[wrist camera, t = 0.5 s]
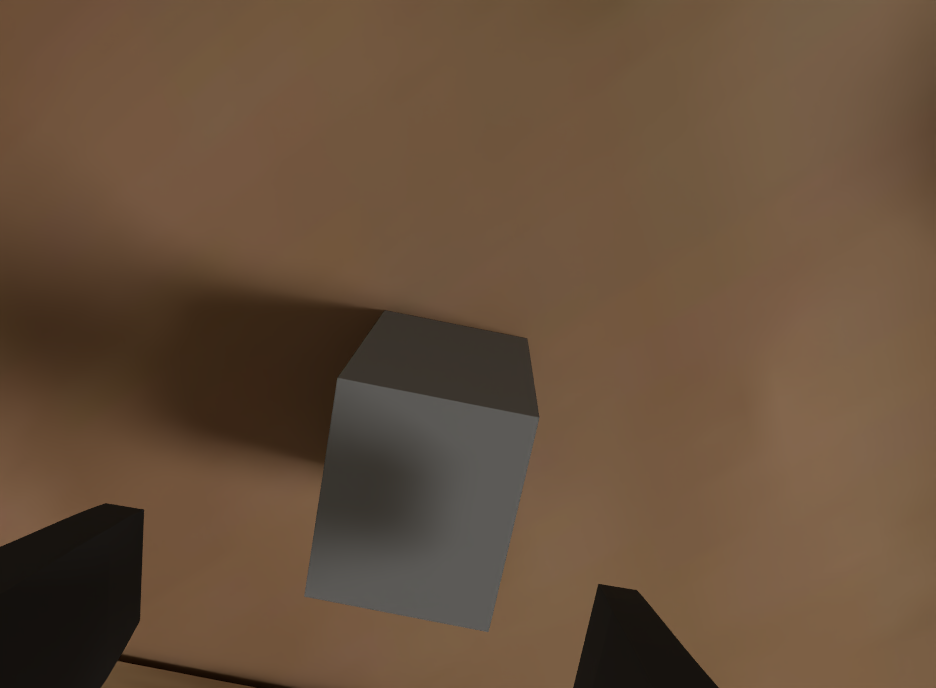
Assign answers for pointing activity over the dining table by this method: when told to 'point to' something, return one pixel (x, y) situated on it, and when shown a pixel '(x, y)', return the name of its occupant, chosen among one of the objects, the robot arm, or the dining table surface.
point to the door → (158, 679)
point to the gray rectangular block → (424, 471)
